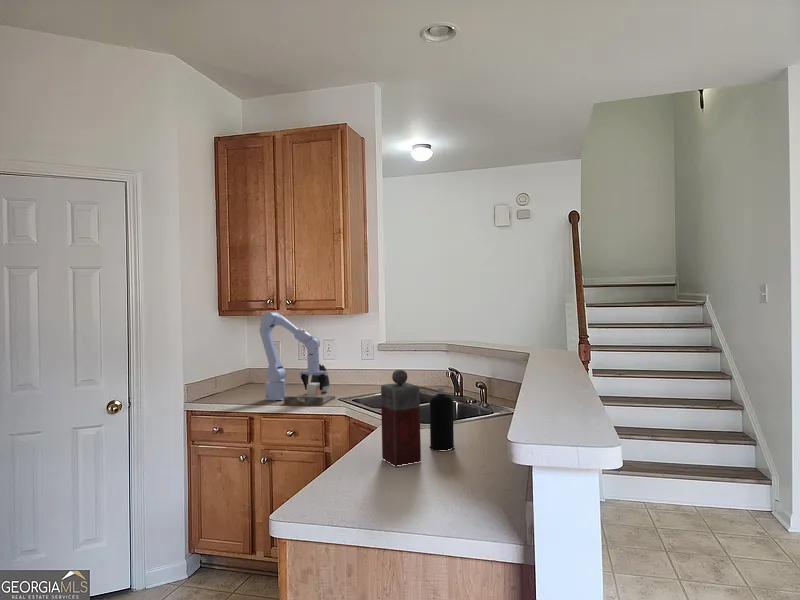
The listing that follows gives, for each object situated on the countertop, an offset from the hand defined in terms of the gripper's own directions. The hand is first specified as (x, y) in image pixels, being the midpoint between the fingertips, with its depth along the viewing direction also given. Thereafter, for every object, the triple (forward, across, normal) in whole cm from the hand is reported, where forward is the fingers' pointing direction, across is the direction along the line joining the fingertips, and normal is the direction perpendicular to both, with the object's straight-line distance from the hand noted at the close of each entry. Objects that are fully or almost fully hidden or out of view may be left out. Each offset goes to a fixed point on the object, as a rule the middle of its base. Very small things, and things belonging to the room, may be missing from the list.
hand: (314, 389), depth 263 cm
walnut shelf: (+5, +1, +2) cm, 6 cm away
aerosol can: (+6, -75, +73) cm, 105 cm away
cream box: (+4, 0, 0) cm, 4 cm away
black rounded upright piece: (+5, +5, -21) cm, 22 cm away
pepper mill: (+6, -64, +88) cm, 109 cm away
